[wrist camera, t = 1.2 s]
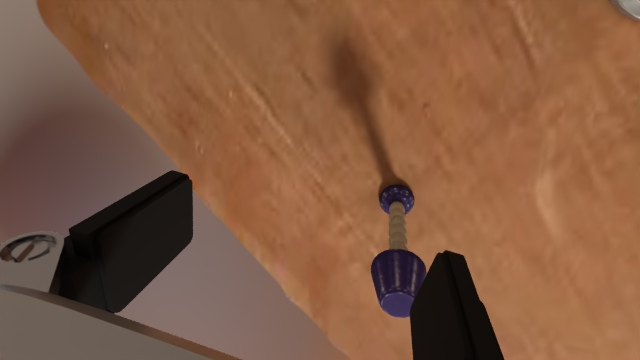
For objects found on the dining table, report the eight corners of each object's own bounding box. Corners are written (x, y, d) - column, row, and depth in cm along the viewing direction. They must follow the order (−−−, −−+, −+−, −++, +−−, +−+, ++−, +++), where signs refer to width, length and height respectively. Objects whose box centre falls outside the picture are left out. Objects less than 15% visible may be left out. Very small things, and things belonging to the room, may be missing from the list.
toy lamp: (400, 222, 38) (411, 336, 23) (368, 206, 38) (358, 309, 23) (420, 194, 35) (448, 299, 21) (387, 177, 35) (390, 270, 20)
